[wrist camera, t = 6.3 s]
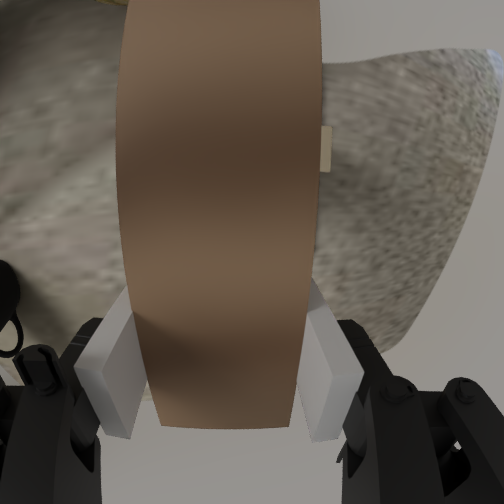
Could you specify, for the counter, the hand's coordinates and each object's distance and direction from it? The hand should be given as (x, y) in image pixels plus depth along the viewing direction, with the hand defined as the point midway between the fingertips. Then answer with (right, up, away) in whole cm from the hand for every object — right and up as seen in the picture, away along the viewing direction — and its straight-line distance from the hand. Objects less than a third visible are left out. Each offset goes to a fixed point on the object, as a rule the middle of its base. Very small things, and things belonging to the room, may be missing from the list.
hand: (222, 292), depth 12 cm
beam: (0, +6, -1) cm, 6 cm away
